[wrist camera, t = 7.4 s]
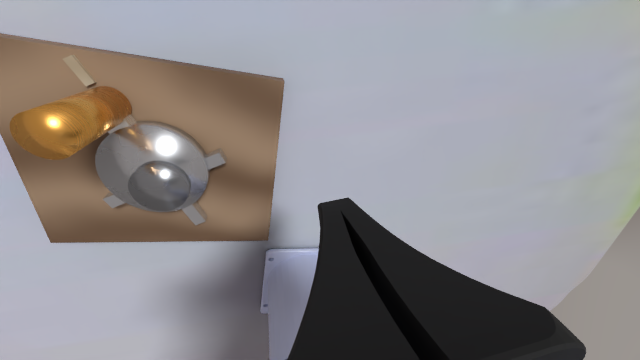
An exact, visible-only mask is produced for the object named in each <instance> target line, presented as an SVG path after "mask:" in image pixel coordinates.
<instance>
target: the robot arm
mask: <svg viewBox="0 0 640 360" xmlns="http://www.w3.org/2000/svg"><path fill="white" fill-rule="evenodd" d="M318 212H319V220H320V244H319V248H303V249H270V250H268V251H267V252H266V257H265V267H264V277H263V287H262V297H261V307H260V312H261V313H262V314H268V323H269V360H583V358H584V357H585V354H586V348H585V346H584V344H583V343H582V342H581V341H580V340H579V339H577V337H576V336H574V334H573V333H572V332H571V331H570V330H568V329H567V328H566V327H565V326H564V325H563V324H562V323H561V322H560V321H559V320H558V319H557V318H556V317H555V316H554V315H553V314H551V312H549V311H548V310H547V309H546V308H545V307H542V306H540V305H537V304H534V303H532V302H529V301H526V300H524V299H521V298H518V297H516V296H513V295H510V294H507V293H505V292H502V291H500V290H497V289H495V288H492V287H490V286H488V285H485V284H483V283H481V282H478V281H476V280H474V279H471V278H469V277H467V276H465V275H463V274H461V273H458V272H456V271H454V270H452V269H451V268H449V267H447V266H445V265H443V264H441V263H439V262H437V261H435V260H433V259H431V258H429V257H428V256H426V255H424V254H422V253H421V252H419V251H417V250H416V249H414V248H412V247H411V246H409V245H408V244H406V243H405V242H403V241H402V240H400V239H399V238H398V237H396V236H395V235H393V234H392V233H390V232H389V231H388V230H386V229H385V228H384V227H383V226H381V225H380V224H379V223H377V222H376V221H375V220H374V219H372V218H371V217H370V216H369V215H368V214H367V213H365V212H364V211H363V210H362V209H361V208H360V207H359V206H357V205H356V204H355V203H354V202H353V201H352V200H351V199H349V198H344V199H339V200H334V201H329V202H324V203H320V204H319V205H318Z"/></svg>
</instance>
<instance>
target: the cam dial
mask: <svg viewBox="0 0 640 360" xmlns="http://www.w3.org/2000/svg"><path fill="white" fill-rule="evenodd" d="M131 112H132V108H131V104H130V102H129V100H128V99H127V97H126V96H125V95H124V94H123V93H121V92H120V91H118V90H117V89H115V88H112V87H108V86H99V87H95V88H92V89H89V90H86V91H83V92H80V93H77V94H74V95H71V96H68V97H65V98H62V99H59V100H56V101H53V102H50V103H47V104H44V105H41V106H38V107H35V108H32V109H29V110H26V111H23V112H20V113H18V114H16V115H15V116H14V117H13V118H12V119H11V121H10V132H11V134H12V136H13V138H14V139H15V141H16V142H17V143H18V144H19V145H20V146H21V147H22V148H23V149H25V150H26V151H28V152H30V153H31V154H33V155H36V156H38V157H41V158H45V159H50V160H61V159H65V158H68V157H70V156H71V155H73V154H74V153H76V152H77V151H79V150H81V149H82V148H84V147H85V146H87V145H88V144H90V143H91V142H93V141H94V140H96V139H98V138H99V137H101V136H102V135H104V134H105V133H107V132H108V133H109V134H110V135H108V136H107V137H106V138H105V139H104V140H103V141H102V142H101V144H100V145H99V147H98V149H97V151H96V156H95V165H96V170H97V173H98V176H99V177H100V179H101V181H102V183H103V184H104V185H105V187H106V188H107V189H108V190H109V191H110V193H108V194H107V195H106V196H105V197H104V198H103V200H104V201H105V202H106V203H107V204H108V205H109V206H110V207H111V208H114V207H117V206H119V205H122V204H124V203H127V204H129V205H131V206H134V207H136V208H139V209H143V210H147V211H153V212H171V211H177V210H181V209H182V210H183V211H184V213H185V214H186V215H187V216H188V217H189V218H190V220H191V221H192V222H193V223H194V224H195V225H198V224H200V223H203V222H205V221H206V218H207V214H206V213H205V212H204V211H203V209H202V208H201V207H200V205H199V204H198V203H197V202H196V201H197V200H198V199H199V198H200V197H201V196H202V194H203V192H204V191H205V188H206V186H207V183H208V180H209V176H210V169H212V168H214V167H217V166H219V165H222V164H224V163H226V160H227V158H226V156H225V154H224V153H223V151H222V150H221V148H220V149H218V150H215V151H213V152H210V153H208V154H206V153H205V151H204V149H203V148H202V147H201V145H200V144H199V143H198V142H197V141H196V140H195V139H194V138H193V137H192V136H191V135H189V134H188V133H186V132H185V131H183V130H181V129H179V128H177V127H175V126H173V125H170V124H167V123H163V122H158V121H136V120H135V119H134V117H133V116H132V115H131Z"/></svg>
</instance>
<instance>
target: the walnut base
mask: <svg viewBox="0 0 640 360" xmlns="http://www.w3.org/2000/svg"><path fill="white" fill-rule="evenodd" d="M99 86H108V87H112V88H115V89H117V90H118V91H120V92H121V93H123V94H124V95H125V96H126V97H127V99H128V100H129V102H130V104H131V108H132V112H131V115H132V116H133V117H134V119H135V120H136V121H158V122H163V123H167V124H170V125H173V126H175V127H177V128H179V129H181V130H183V131H185V132H186V133H188V134H189V135H191V136H192V137H193V138H194V139H195V140H196V141H197V142H198V143H199V144H200V145H201V147H202V148H203V149H204V151H205V153H206V154H208V153H210V152H213V151H215V150H218V149H220V148H221V150H222V151H223V153H224V154H225V156H226V158H227V160H226V163H224V164H222V165H219V166H217V167H214V168H212V169H210V176H209V180H208V183H207V186H206V188H205V191H204V192H203V194H202V196H201V197H200V198H199V199H198V200H197V201H196V202H197V203H198V204H199V205H200V207H201V208H202V209H203V211H204V212H205V213H206V214H207V218H206V221H205V222H203V223H200V224H198V225H195V224H194V223H193V222H192V221H191V220H190V218H189V217H188V216H187V215H186V214H185V213H184V211H183V210H182V209H181V210H177V211H171V212H153V211H147V210H143V209H139V208H136V207H134V206H131V205H129V204H127V203H124V204H122V205H119V206H117V207H114V208H111V207H110V206H109V205H108V204H107V203H106V202H105V201H104V200H103V198H104V197H105V196H106V195H107V194H108V193H110V191H109V190H108V189H107V188H106V187H105V185H104V184H103V183H102V181H101V179H100V177H99V176H98V173H97V170H96V165H95V156H96V151H97V149H98V147H99V145H100V144H101V142H102V141H103V140H104V139H105V138H106V137H107V136H108V135H110V134H109V133H108V132H107V133H105V134H104V135H102V136H101V137H99V138H98V139H96V140H94V141H93V142H91V143H90V144H88V145H87V146H85V147H84V148H82V149H81V150H79V151H77V152H76V153H74V154H73V155H71V156H70V157H68V158H65V159H61V160H50V159H45V158H41V157H38V156H36V155H33V154H31V153H30V152H28V151H26V150H25V149H23V148H22V147H21V146H20V145H19V144H18V143H17V142H16V141H15V139H14V138H13V136H12V134H11V132H10V121H11V119H12V118H13V117H14V116H15V115H16V114H18V113H20V112H23V111H26V110H29V109H32V108H35V107H38V106H41V105H44V104H47V103H50V102H53V101H56V100H59V99H62V98H65V97H68V96H71V95H74V94H77V93H80V92H83V91H86V90H89V89H92V88H95V87H99ZM283 90H284V80H283V78H276V77H270V76H264V75H258V74H251V73H245V72H239V71H233V70H226V69H220V68H214V67H208V66H201V65H195V64H189V63H183V62H176V61H170V60H164V59H157V58H151V57H145V56H139V55H132V54H126V53H120V52H114V51H107V50H101V49H95V48H89V47H82V46H76V45H70V44H64V43H57V42H51V41H45V40H39V39H32V38H26V37H20V36H14V35H7V34H1V33H0V133H1V136H2V138H3V140H4V142H5V144H6V147H7V149H8V151H9V153H10V155H11V157H12V160H13V162H14V164H15V166H16V168H17V170H18V173H19V175H20V177H21V179H22V181H23V183H24V186H25V188H26V190H27V192H28V194H29V197H30V199H31V201H32V203H33V205H34V207H35V210H36V212H37V214H38V216H39V218H40V220H41V223H42V225H43V227H44V229H45V231H46V233H47V236H48V238H49V240H50V242H51V243H63V242H162V241H260V240H268V237H269V227H270V217H271V208H272V198H273V188H274V178H275V168H276V158H277V149H278V139H279V129H280V119H281V109H282V100H283Z"/></svg>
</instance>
